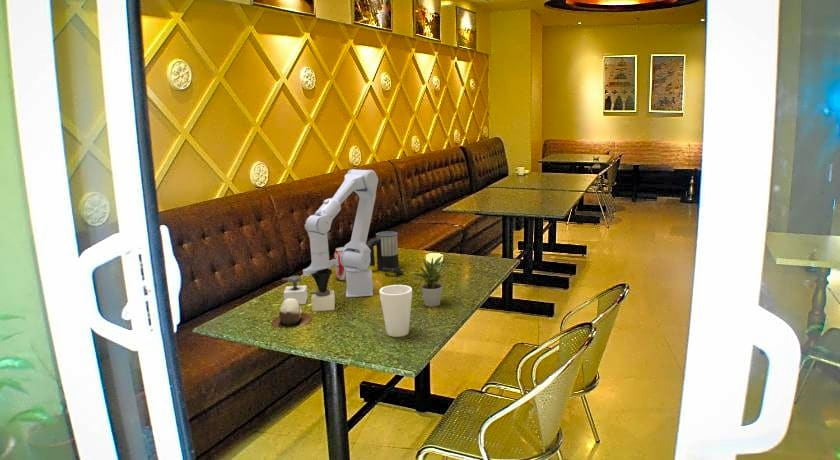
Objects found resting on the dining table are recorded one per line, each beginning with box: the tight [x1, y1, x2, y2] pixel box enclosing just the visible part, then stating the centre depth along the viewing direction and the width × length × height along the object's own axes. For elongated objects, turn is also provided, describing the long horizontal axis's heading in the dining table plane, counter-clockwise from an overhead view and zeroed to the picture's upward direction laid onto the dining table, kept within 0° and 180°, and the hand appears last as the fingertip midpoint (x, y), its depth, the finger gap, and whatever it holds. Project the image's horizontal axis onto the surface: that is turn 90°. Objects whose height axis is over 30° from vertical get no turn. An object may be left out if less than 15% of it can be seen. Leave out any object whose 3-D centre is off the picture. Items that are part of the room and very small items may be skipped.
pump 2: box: [309, 288, 331, 296], centre depth 189 cm, size 6×5×4 cm
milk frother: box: [366, 230, 404, 275], centre depth 228 cm, size 14×16×15 cm
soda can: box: [333, 246, 346, 282], centre depth 220 cm, size 7×7×12 cm
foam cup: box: [379, 284, 413, 338], centre depth 164 cm, size 10×9×13 cm
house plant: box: [408, 255, 450, 307], centre depth 188 cm, size 14×14×16 cm
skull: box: [271, 298, 312, 329], centre depth 177 cm, size 12×10×10 cm
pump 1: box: [281, 275, 302, 290], centre depth 195 cm, size 6×5×4 cm
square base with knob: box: [283, 284, 309, 305], centre depth 196 cm, size 7×7×4 cm
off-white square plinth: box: [310, 289, 336, 312], centre depth 189 cm, size 7×7×4 cm
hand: (322, 291), depth 188 cm, fingers closed, pressing on pump 2
